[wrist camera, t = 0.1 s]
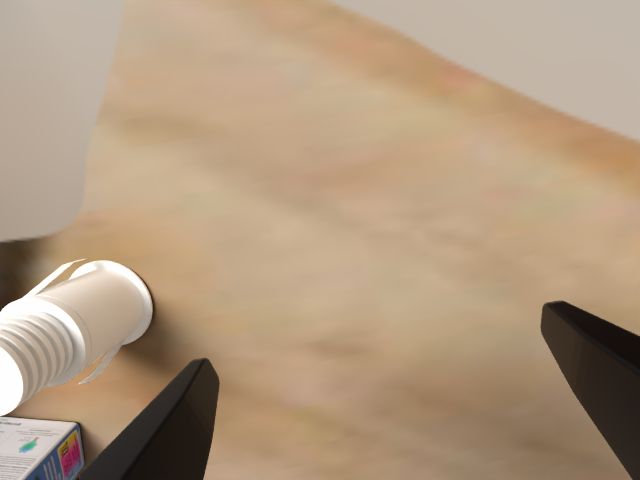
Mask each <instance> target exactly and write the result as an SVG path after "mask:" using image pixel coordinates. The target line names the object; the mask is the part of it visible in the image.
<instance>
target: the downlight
mask: <svg viewBox="0 0 640 480" xmlns="http://www.w3.org/2000/svg"><path fill="white" fill-rule="evenodd" d="M86 259H88V258H86ZM82 260H85V259H82ZM82 260H77V261H74V262H71V263H67V264H64V265H62V266H60V267H59V268H58V269H57V270H56V271H54V272H53V273H52V274H51V275H50V276H48V277H47V278H46V279H45V280H43V281H42V282H41V283H40V284H39V285H37V286H36V287H35V288H34V289H32V290H31V291H30V292H29V293H28V294H26V295H25V296H24V297H23V298H21V299H19V300H16V301H14V302H12V303H10V304H8V305H7V306H6V307H5V308H3V310H2V311H1V312H0V416H2V415H5V414H7V413H9V412H11V411H12V410H14V409H15V408H16V407H18V406H19V405H20V404H22V403H23V402H25V401H26V400H27V399H29V398H30V397H32V396H33V395H34V394H36V393H37V392H38V391H40V390H41V389H43V388H44V387H45V386H58V385H62V384H65V383H67V382H69V381H71V380H72V379H73V378H75V377H76V376H77V375H78V374H80V373H81V372H82V371H84V370H85V369H86V368H87V367H89V366H90V365H91V364H93V363H94V362H95V361H97V360H98V359H99V358H100V357H102V356H103V355H104V354H106V353H107V354H106V355H105V356H104V358H103V359H102V361H101V362H100V363H99V365H98V366H97V368H96V369H95V370H94V372H93V373H92V374H91V375H89V376H88V377H87V378H85V379H84V380H83V381H81V382H80V383H79V384H84V383H89V382H91V381H92V380H93V379H95V378H96V377H97V376H99V375H100V374H101V373H103V372H104V370H105V369H106V368H107V366H108V365H109V363H110V362H111V360H112V359H113V357H114V356H115V354H116V353H117V351H118V350H119V348H120V347H121V346H122V345H125V344H128V343H131V342H133V341H135V340H136V339H138V338H139V337H140V336H141V335H142V334H143V333H144V332H145V331H146V330H147V328H148V326H149V324H150V322H151V319H152V312H153V306H152V300H151V296H150V293H149V291H148V289H147V287H146V285H145V284H144V282H143V281H142V280H141V279H140V277H139V276H138V275H137V274H136V273H134V272H133V271H132V270H130V269H129V268H127V267H126V266H124V265H121V264H119V263H116V262H112V261H103V260H102V261H94V262H90V263H88V264H85V265H83V266H81V267H80V268H78V269H77V270H76V271H75V272H74V273H73V274H72V276H71V277H70V279H69V280H67V281H64V282H62V283H59V284H57V285H54V286H52V287H49V288H47V289H44V288H45V287H46V286H47V285H48V284H50V283H51V282H52V281H53V280H54V279H55V278H57V277H58V276H59V275H60V274H61V273H62V272H64V271H65V270H66V269H67V268H68V267H70V266H71V265H72V264H73V263H75V262H78V261H82ZM42 289H44V290H42ZM41 290H42V291H41Z"/></svg>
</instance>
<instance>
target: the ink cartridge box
mask: <svg viewBox="0 0 640 480" xmlns="http://www.w3.org/2000/svg"><path fill="white" fill-rule="evenodd" d="M84 465H85V462H84V455H83V448H82V442H81V435H80V428H79V425H78V424H77V423H75V422H63V421H50V420H37V419H24V418H13V417H1V416H0V480H74V478H75V477H76V476H77V475H78V473H79V472H80V471H81V469H82V468H83V467H84Z"/></svg>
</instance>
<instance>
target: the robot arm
mask: <svg viewBox="0 0 640 480" xmlns="http://www.w3.org/2000/svg"><path fill="white" fill-rule="evenodd" d="M541 332H542V335H543V337H544V339H545V341H546V343H547V345H548V347H549V349H550V350H551V352H552V354H553V356H554V358H555V360H556V362H557V363H558V365H559V367H560V369H561V371H562V373H563V374H564V376H565V378H566V380H567V382H568V384H569V385H570V387H571V389H572V391H573V392H574V394H575V396H576V397H577V399H578V400H579V402H580V403H581V405H582V406H583V408H584V409H585V411H586V412H587V414H588V415H589V416H590V418H591V419H592V421H593V422H594V424H595V425H596V427H597V428H598V430H599V431H600V433H601V434H602V436H603V437H604V438H605V440H606V441H607V443H608V444H609V446H610V447H611V449H612V450H613V452H614V453H615V455H616V456H617V457H618V459H619V460H620V462H621V463H622V465H623V466H624V468H625V469H626V471H627V472H628V474H629V475H630V477H631V478H632V479H633V480H640V336H638V335H636V334H634V333H632V332H630V331H627V330H625V329H623V328H621V327H619V326H617V325H614V324H612V323H610V322H608V321H606V320H604V319H601V318H599V317H597V316H595V315H593V314H591V313H589V312H586V311H584V310H582V309H580V308H578V307H576V306H573V305H571V304H569V303H567V302H565V301H554V302H548V303H545V304H544V305H543V308H542V318H541ZM218 392H219V377H218V375H217V373H216V371H215V370H214V368H213V366H212V364H211V362H210V360H209V359H207V358H201V359H195V360H192V361H191V362H190V363H189V364H188V365H187V366H186V367H185V368H184V369H183V370H182V371H181V372H180V373H179V374H178V375H177V376H176V377H175V378H174V379H173V380H172V381H171V382H170V383H169V384H168V385H167V386H166V387H165V388H164V389H163V390H162V391H161V393H160V394H159V395H158V396H157V397H156V398H155V399H154V400H153V401H152V402H151V403H150V404H149V405H148V406H147V407H146V408H145V409H144V410H143V411H142V412H141V413H140V414H139V415H138V416H137V417H136V418H135V419H134V420H133V421H132V422H131V423H130V424H129V425H128V426H127V427H126V428H125V429H124V430H123V431H122V432H121V433H120V434H119V435H118V436H117V437H116V438H115V439H114V440H113V441H112V442H111V443H110V444H109V445H108V446H107V447H106V448H105V449H104V450H103V451H102V453H101V454H100V455H99V456H98V457H97V458H96V459H95V460H94V461H93V462H92V463H91V464H90V465H89V466H88V467H87V468H86V469H85V470H84V471H83V472H82V473H81V474H80V476H79V477H77V478H76V479H75V480H203V478H204V474H205V470H206V465H207V461H208V457H209V452H210V448H211V443H212V438H213V431H214V424H215V416H216V408H217V400H218Z"/></svg>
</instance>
